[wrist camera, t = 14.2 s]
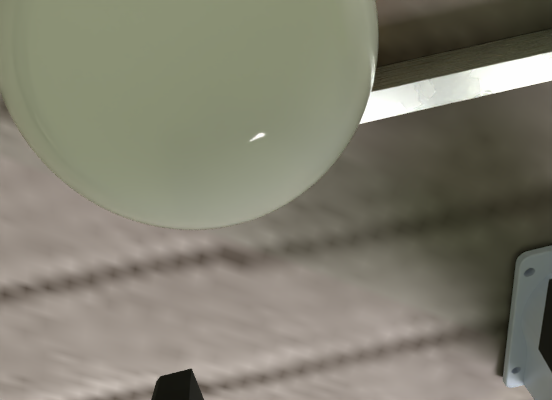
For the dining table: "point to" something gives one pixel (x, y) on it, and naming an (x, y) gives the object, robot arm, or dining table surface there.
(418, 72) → the rack
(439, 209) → the dining table surface
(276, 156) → the lightbulb
